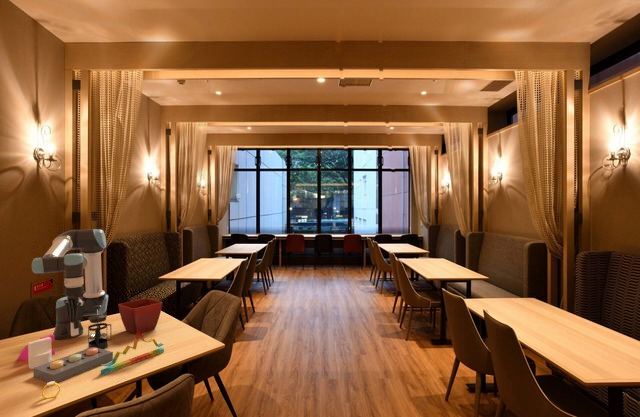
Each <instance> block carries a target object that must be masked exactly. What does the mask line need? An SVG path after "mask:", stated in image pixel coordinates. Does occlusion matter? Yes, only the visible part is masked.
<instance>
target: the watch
mask: <svg viewBox="0 0 640 417" xmlns="http://www.w3.org/2000/svg"><path fill="white" fill-rule="evenodd" d="M51 386H56V387H57V388H58V392H57V393H56V394H53V395H48V396H47V395H45V393H44V390H45V388H47V387H51ZM60 392H61V385H60V383H59V382H58V383H55V381H51V382H47V383H46V385H44V387H43V388H42V389H41V396H42V397H43V398H44V399H46V400H47V399H52V398H56V397H57V396H58V395H59V394H60Z"/></svg>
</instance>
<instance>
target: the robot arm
mask: <svg viewBox="0 0 640 417" xmlns="http://www.w3.org/2000/svg"><path fill="white" fill-rule="evenodd" d="M106 247H107V238H106V234H105V231H104V230H103V229H99V228H91V229H89V228H87V229H71V230H68V231H64V232H63V233H60V234H59V235H57V236H56V237H55V238H54V239H53V240H52V244H51V246H50V247H49V249H48V250H47V251H46V252H45V254H44V255H43V256H42V257H35V258H33V260H32V261H31V271H32V273H34V274H50V273H63V272H64V275H63V276H64V278H63V279H64V281H63V283H64V295H65V296H63V297H61V298H59V299H57V300H56V303H55V304H56V305H55V312H56V314H55V316H56V317H55V318H56V320H55V321H56V324H55V326H54V330H53V332H52V335H54V340H68V339H71V338H75V337H79V336H81V335H82V334H84V327H83V325H82V322H81V321H82V320H83V317H88V316H89V317H91V316H94V315H97V308H93V307H94V306H97V305H102V306H101V307H99V309H98V315H102V314H105V313H106V311H107V306H108V302H109V294H106V291H105V290H103V276H102V275H103V274H102V256H101V255H102V253H103V252H104V249H105V248H106ZM71 250H73V251H74V250H80V252H77V253H67V252H70V251H71ZM66 253H67V254H66ZM84 277H85V278H84ZM84 281H85V289H84ZM84 290H85V291H84ZM82 294H83V295H82Z"/></svg>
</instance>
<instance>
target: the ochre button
mask: <svg viewBox="0 0 640 417" xmlns="http://www.w3.org/2000/svg"><path fill="white" fill-rule="evenodd" d="M57 360H58V359H57ZM53 361H54V362H51V363H50V369H51V370H56V369H58V368H61V367H64V366H63V360H58V361H55V360H53Z"/></svg>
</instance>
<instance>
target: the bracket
mask: <svg viewBox="0 0 640 417" xmlns="http://www.w3.org/2000/svg"><path fill="white" fill-rule="evenodd" d="M47 337H51V343H54V342H55V339H54V335H53V333H52V334H48V335H45V336H43V337H42V336H41V337H40V338H39V339H43V338H47ZM51 352H52V356H54V355H55V354H56V353H55V352H56V350H55V349H54V348H51ZM17 359H18V360H22V361H26V362H28V344H27V345H25V346H24V348H23V350H22V351H21V352H20V354H19V355H18V357H17Z"/></svg>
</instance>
